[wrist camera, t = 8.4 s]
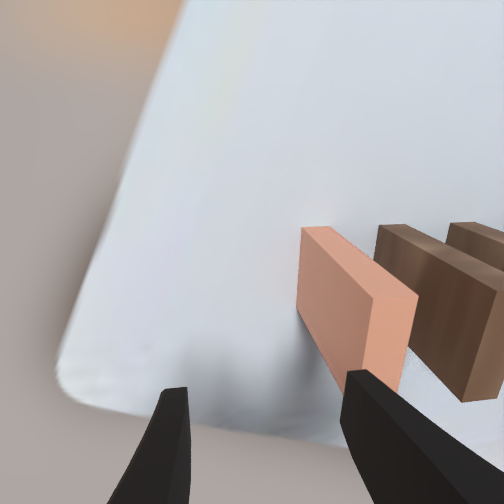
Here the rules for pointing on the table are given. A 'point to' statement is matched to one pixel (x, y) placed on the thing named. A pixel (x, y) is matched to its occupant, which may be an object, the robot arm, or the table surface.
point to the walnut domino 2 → (478, 242)
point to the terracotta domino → (353, 307)
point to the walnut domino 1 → (450, 310)
